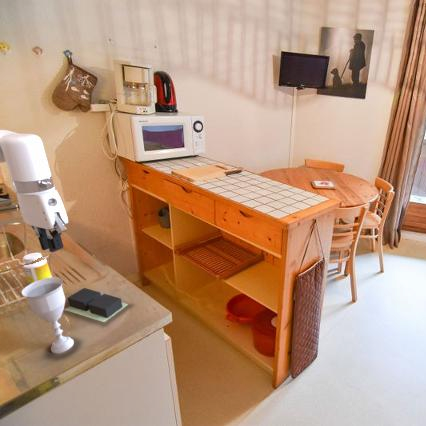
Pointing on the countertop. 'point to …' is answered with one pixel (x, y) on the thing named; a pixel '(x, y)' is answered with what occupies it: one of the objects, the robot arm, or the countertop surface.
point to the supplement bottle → (36, 268)
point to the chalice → (49, 307)
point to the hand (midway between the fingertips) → (53, 248)
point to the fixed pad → (105, 305)
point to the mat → (91, 315)
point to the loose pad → (83, 298)
